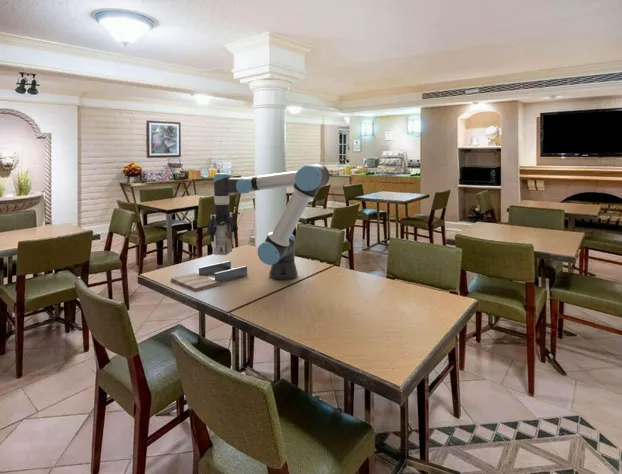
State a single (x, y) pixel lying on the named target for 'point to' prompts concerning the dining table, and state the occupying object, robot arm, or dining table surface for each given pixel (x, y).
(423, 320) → the dining table surface
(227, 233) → the coffee box
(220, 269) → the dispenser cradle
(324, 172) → the robot arm
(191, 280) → the serving board
